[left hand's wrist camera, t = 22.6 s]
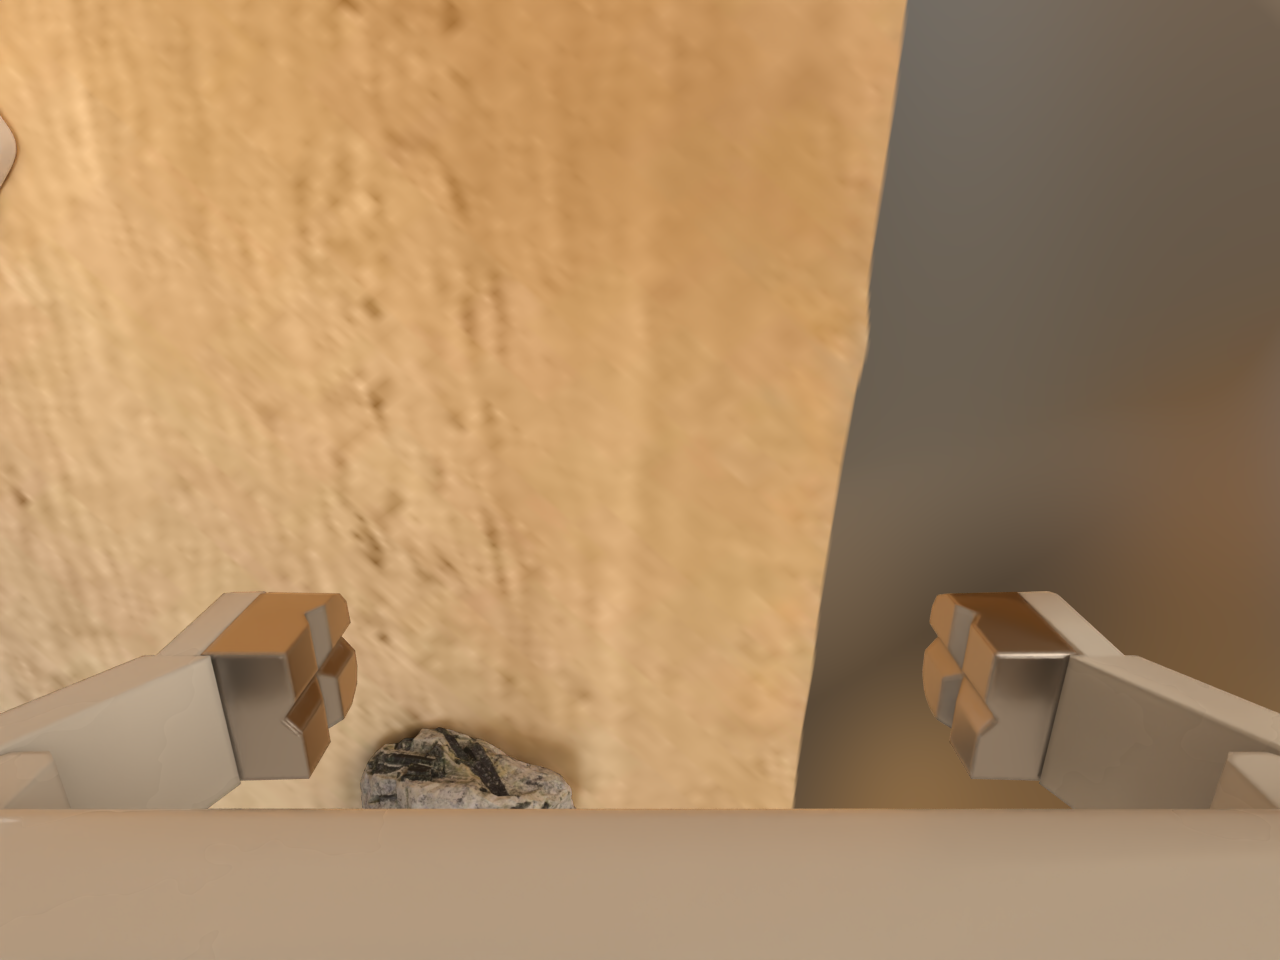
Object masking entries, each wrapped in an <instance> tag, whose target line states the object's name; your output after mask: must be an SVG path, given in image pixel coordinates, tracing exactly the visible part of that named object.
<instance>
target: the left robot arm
mask: <svg viewBox="0 0 1280 960" xmlns="http://www.w3.org/2000/svg"><path fill="white" fill-rule="evenodd" d="M15 156H16V142H15V138H14V136H13V134H12V132H11V130H10V128H9V127H8V125H7V124H6V123H5V121H4V120H3V118H2V117H1V115H0V187H1V185H2V184H3V182H4V180H5V178H6V177H7V175H8V173H9V171H10V169H11V167H12V165H13V162H14V160H15ZM350 623H351V622H350V617H349V612H348V607H347V602H346V600H345V599H344V598H343V597H342V596H341V594H340V593H287V592H268V593H267V592H264V591H258V592H231V593H224V594H222V595H221V596H220V597H219V598H218V599H217V600H216V601H215V602H214V603H213V604H212V605H210V606H209V607H208V608H207V609H206V610H205V611H204V612H203V613H202V614H201V615H199V616H198V617H197V618H196V619H195V620H194V621H193V622H192V623H191V624H190V625H188V626H187V627H186V628H185V629H184V630H183V631H182V632H181V633H180V634H179V635H178V636H176V637H175V638H174V639H173V640H172V641H171V642H170V643H169V644H168V645H167V646H165V647H164V648H163V649H162V650H161V651H160V652H159V653H158V654H157V655H151V656H141V657H139V658H136V659H134V660H131V661H129V662H126V663H124V664H121V665H119V666H116V667H114V668H111V669H109V670H106V671H104V672H102V673H99V674H97V675H94V676H92V677H89V678H87V679H84V680H82V681H79V682H77V683H74V684H72V685H69V686H67V687H65V688H62V689H60V690H57V691H55V692H52V693H50V694H47V695H45V696H42V697H40V698H37V699H35V700H33V701H30V702H28V703H25V704H23V705H20V706H18V707H15V708H13V709H10V710H8V711H5V712H3V713H0V960H1280V714H1279V713H1277V712H1274V711H1272V710H1269V709H1267V708H1264V707H1262V706H1259V705H1257V704H1254V703H1252V702H1250V701H1247V700H1245V699H1242V698H1240V697H1237V696H1235V695H1232V694H1230V693H1228V692H1225V691H1222V690H1220V689H1218V688H1215V687H1213V686H1210V685H1208V684H1205V683H1203V682H1200V681H1198V680H1196V679H1193V678H1191V677H1188V676H1186V675H1183V674H1181V673H1178V672H1176V671H1173V670H1171V669H1169V668H1166V667H1164V666H1161V665H1159V664H1156V663H1154V662H1151V661H1149V660H1146V659H1144V658H1141V657H1139V656H1128V655H1123V654H1122V653H1121V652H1120V651H1119V650H1118V649H1117V648H1116V647H1115V646H1114V645H1112V644H1111V643H1110V642H1109V641H1108V640H1107V639H1106V638H1105V637H1104V636H1103V635H1102V634H1100V633H1099V632H1098V631H1097V630H1096V629H1095V628H1094V627H1093V626H1092V625H1090V624H1089V623H1088V622H1087V621H1086V620H1085V619H1084V618H1083V617H1082V616H1081V615H1080V614H1079V613H1077V612H1076V611H1075V610H1074V609H1073V608H1072V607H1071V606H1070V605H1069V604H1068V603H1067V602H1065V601H1064V600H1063V599H1062V598H1061V597H1060V596H1059V595H1058V594H1055V593H1052V592H1048V591H1041V592H1018V593H1017V592H998V593H956V594H942V595H937V597H936V599H935V601H934V603H933V606H932V611H931V616H930V624H931V626H932V627H933V629H934V630H935V632H936V633H937V635H938V637H937V638H936V639H935V640H934V642H933V643H932V644H931V645H930V646H929V647H928V648H927V649H926V650H925V654H924V662H923V671H922V673H923V683H924V692H925V695H926V699H927V702H928V705H929V707H930V709H931V711H932V713H933V714H934V716H935V718H936V719H937V720H939V721H940V722H942V723H943V724H945V725H947V726H948V727H950V728H951V735H950V741H949V742H950V744H951V746H952V747H953V749H954V751H955V752H956V754H957V756H958V757H959V759H960V761H961V763H962V764H963V766H964V768H965V769H966V771H967V773H968V774H969V776H970V778H971V779H1002V780H1039V781H1040V782H1039V784H1041V785H1042V786H1043V787H1045V788H1046V789H1047V790H1049V791H1050V792H1051V793H1053V794H1054V795H1055V796H1057V797H1058V798H1059V799H1061V800H1062V801H1063V802H1065V803H1066V804H1067V805H1069V806H1070V807H1071V808H1073V809H208V808H209V807H210V806H212V805H213V804H214V803H216V802H217V801H218V800H220V799H221V798H222V797H224V796H225V795H226V794H228V793H229V792H230V791H232V790H233V789H234V788H236V787H237V786H238V785H240V783H241V782H240V781H241V780H277V779H309V778H310V776H311V775H312V773H313V771H314V769H315V768H316V766H317V764H318V763H319V761H320V759H321V758H322V756H323V754H324V752H325V751H326V749H327V747H328V746H329V744H330V742H331V741H330V735H329V728H330V727H332V726H333V725H335V724H337V723H338V722H340V721H341V720H343V719H344V718H345V716H346V714H347V712H348V711H349V709H350V707H351V705H352V702H353V698H354V694H355V690H356V686H357V660H356V654H355V650H354V649H353V648H352V647H351V646H350V645H349V644H348V643H347V642H346V640H345V639H344V638H343V637H342V635H343V633H344V632H345V630H346V629H347V627H348V626H349V624H350Z"/></svg>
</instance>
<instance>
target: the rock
mask: <svg viewBox="0 0 1280 960" xmlns="http://www.w3.org/2000/svg"><path fill="white" fill-rule="evenodd" d="M360 786H361V791H362V795H361V799H362V807H363V809H576V808H575V807H574V806H573V801H572V798H571V796H572V790H571V787H570V786H569V785H568V784H567V783H566V782H565V780H564V779H563V778H562V776H561V775H560V774H558V773H556V772H554V771H552V770H550V769H547V768H544V767H541V766H536V765H530V764H527V763H524V762H521V761H518V760H516V759H514V758H512V757H510V756H508V755H506V753H504V752H503V751H501V750H500V749H498V748H497V747H495V746H493V745H491V744H490V743H488V742H486V741H483V740H481V739H473V738H471V737H469V736H468V735H465V734H461V733H457V732H455V731H453V730H449V729H444V728H437V729H421V730H420V732H419V734H418V735H417V736H416V737H415V738H407V739H404V740H402V741H401V742H399V743H396V744H385V745H384V746H383V747H381V748H380V749H379V750H378V751H376V752H375V754H374V755H373V756H372V758H371V759H370V761H369V762H368V764H367V766H366V768H365V770H364V773H363V776H362V779H361V783H360Z"/></svg>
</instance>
